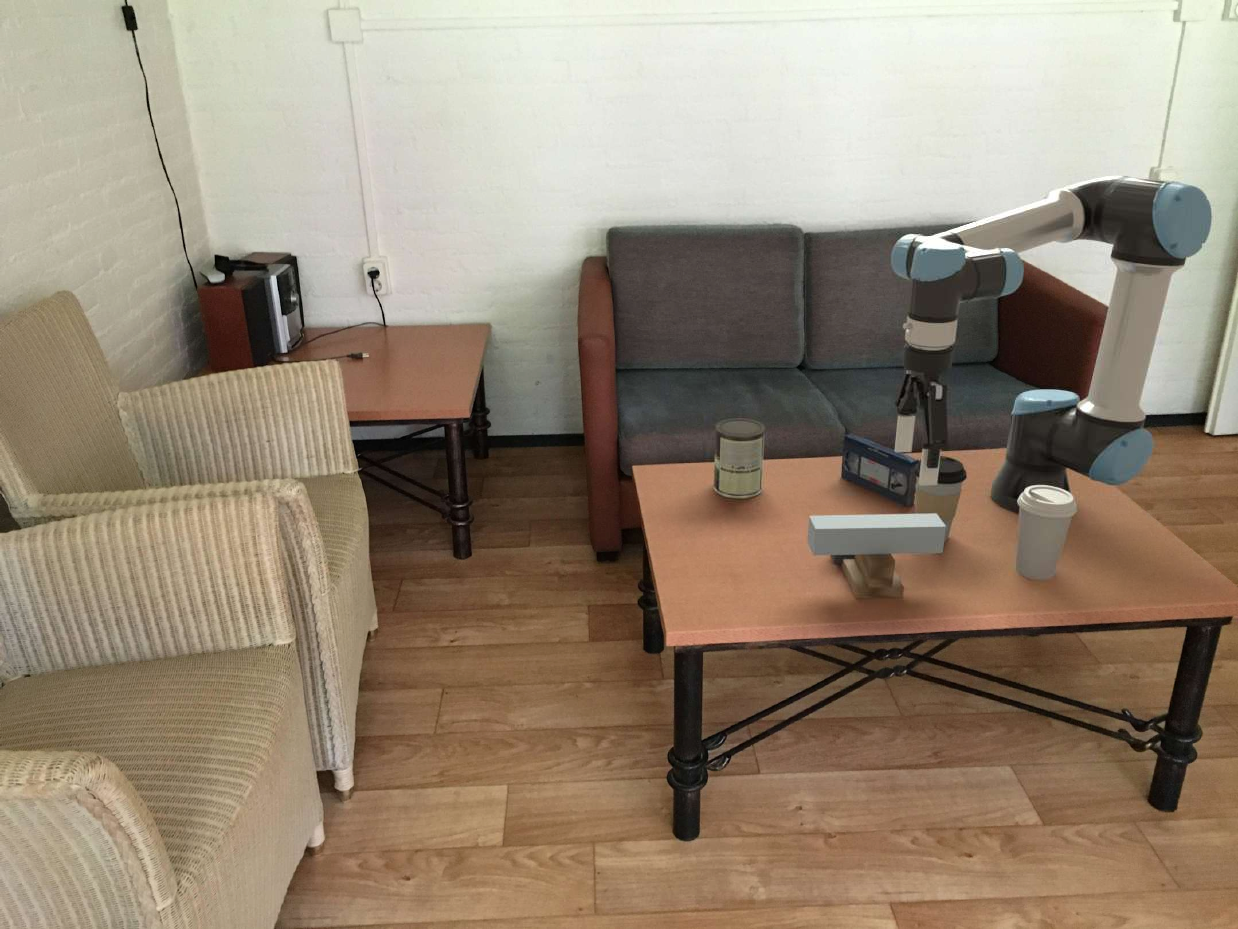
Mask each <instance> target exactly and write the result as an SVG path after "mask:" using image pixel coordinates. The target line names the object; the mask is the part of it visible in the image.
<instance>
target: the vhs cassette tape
mask: <svg viewBox="0 0 1238 929" xmlns="http://www.w3.org/2000/svg"><path fill="white" fill-rule="evenodd" d="M894 450H895V449H892V448H890V447H887V446H884V445H882V444H879V443H877V442H874V441H872V440H870V439H866V438H864V437H861V436H859V435H857V434H854V433H848V434H845V435H844V436H843V447H842V458H841V459H842V461H841V470H840V471H841V474H840V477H841V478H842V479H843V480H846V481H848V482H850V483H852V484H854V485H857V486H858V487H860V488H863V489H866V490H867V491H870V492H872V493H874V494H876V495H878V496H881V497H883V498H885V499H888V500H890V501H893V502H895V503H897V504H899V505H901V506H903V507H906V508H907V507H909V506H911V505H914V504H915V496H916V482H917V476H916V475H915V474H914V469H915V465H916V464H918V463H919V461H920V459H918V458H914V457H912V456H910V455H907V454H905V453H904V452H895V451H894Z"/></svg>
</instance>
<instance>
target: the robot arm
mask: <svg viewBox="0 0 1238 929" xmlns="http://www.w3.org/2000/svg"><path fill="white" fill-rule="evenodd" d="M1211 206H1212V205H1211V203H1210V201H1209V199H1208V197H1207V194H1206V193H1205V192H1204V191H1203V190H1202V189H1200V188H1199V187H1197V186H1194V185H1190V184H1187V183H1182V182H1179V181H1174V180H1172V181H1170V180H1161V179H1150V178H1149V179H1148V178H1141V177H1140V178H1139V177H1132V176H1128V175H1109V176H1102V177H1097V178H1093V179H1088V180H1084V181H1080V182H1078V183H1074V184H1071V185H1070V184H1069V185H1068V186H1064V187H1061V188H1058V189H1054V190H1052V191H1051V192H1049V193H1048V194H1047V195H1045V197H1043V199H1042V200H1038V201H1036V202H1034V203H1029V204H1027V205H1023V206H1021V207H1020V206H1019V207H1018V208H1014V209H1011V210H1009V211H1004V212H1001V213H999V214H996V215H992V216H990V217H986V218H983V219H980V220H977V221H973V222H972V223H968V224H964V225H961V226H959V227H956V228H953V229H949V230H947V231H943V232H939V233H935V234H933V235H928V236H925V235H924V234H919V233H918V234H914V233H913V234H912V233H909V234H906V235H904V236H902V237H900V239H898V240H897V242H896V243H895V244H894V246H893V248H892V251H891V255H890V266H891V268H892V270H893V272H894V273H895V274H896V275H897V276H898V277H901V278H903V279H906V280H908V281H910V282H909V292H908V293H909V294H908V306H907V314H906V323H903V325H902V329H904V330H905V335H904V339H905V340H904V341H906V343H904V345H903V350H902V351H903V352H902V361H901V363H902V366H903V367H904V368H903V374H902V378H901V380H900V382H899V387H898V391H897V394H896V397H895V398H894V399H895V400H894V404H893V405H894V406H895V407H896V408H897V410H896V412H897V414H898V416H897V422H896V430H895V431H896V434H895V442H894V449H893V450H894V451H895V452H900V453H912V451H913V441H914V440H913V439H914V432H915V431H914V430H915V422H916V416H915V415H916V414H918V409H917V408H919V409H920V410H921V418H922V424H923V425H922V426H923V427H922V428H923V434H924V441H925V442H924V443H923V444H922V445H921V446H920V448H921V450H922V452H921V458H920V459H921V467H920V476H919V485H937V480H938V472H939V464H940V456H942V455H941V454H942V450H948V449H949V436H948V435H949V433H948V432H949V430H948V414H947V412H948V410H947V396H948V395H947V394H948V386H947V385H946V384H941V381H940V375H941V374H943V373H945V372H948V371H949V370H950V369H951V368H952V366H953V365H952V364H953V356H954V346H953V345H954V344H955V342H956V337H957V336H956V334H957V328H958V319H959V318H958V317H959V310H960V309H959V308H960V304H962V303H969V302H975V301H982V300H988V299H989V300H990V299H994V300H995V299H998V298H1000V297H1005V296H1007V295H1011V294H1013V293H1014V292H1016V290H1018V289H1019V287H1020V286H1021V284H1022V282H1023V279H1024V272H1025V268H1024V262H1023V260H1022V258H1021V256H1020V253H1022V252H1025V251H1028V250H1032V249H1034V248H1037V247H1038V248H1039V247H1040V246H1043V245H1047V244H1049V243H1052V242H1055V243H1060V244H1066V243H1071V242H1073V241H1079V240H1080V241H1081V240H1083V241H1094V242H1095V241H1096V242H1101V243H1106V244H1109V245H1112V250H1111V253H1110V259H1111V261H1112V262H1113V263H1114V265H1115V267H1116V275H1115V278H1114V283H1113V287H1112V292H1111V296H1110V300H1109V304H1108V309H1107V313H1106V316H1105V322H1104V326H1103V330H1102V331H1103V332H1102V334H1101V339H1100V343H1099V348H1098V353H1097V356H1096V361H1095V365H1094V370H1093V374H1092V379H1091V381H1090V382H1091V383H1090V387H1089V391H1088V395H1087V397H1086V398H1083V399H1082V400H1081V399H1080V396H1079V395H1078V393H1075V392H1073V391H1068V390H1061V389H1051V388H1050V389H1033V390H1027V391H1024V392H1022V393H1020V394H1019V395H1017V396H1016V398H1015V400H1014V405H1013V409H1012V411H1011V418H1010V423H1009V424H1010V425H1009V431H1008V439H1007V445H1006V450H1005V451H1006V453H1005V458H1004V461H1003V463H1002V465H1001V467H1000V469H999V470H998V472H997V474H996V476H995V477H994V480H992V484H991V488H990V497H991V499H992V500H993V502H994V503H996V504H997V505H998V506H1001V507H1003V508H1004V509H1008V510H1010V511H1013V512H1016V513H1019V509H1020V506H1019V505H1018V503H1017V500H1018V498H1019V496H1020V495H1021V494H1022V493H1023V492H1024V490H1025V489H1026V488H1027V487H1030V486H1034V485H1047V486H1053V487H1058V488H1061V489H1063V490H1066V491H1068V492H1069V493H1071V488H1070V483H1069V482H1070V481H1069V476H1068V471H1067V470H1068V469H1069V470H1071V471H1073V472H1075V473H1078V474H1080V475H1082V476H1084V477H1087V478H1089V479H1090V480H1091V481H1094V482H1100V483H1101V484H1102V483H1103V484H1105V485H1108V486H1120V485H1123V484H1125V483H1128V482H1129V481H1131V480H1133V478H1135V477H1136V476H1137V475H1138V474H1139V473H1140V472H1141V471H1142V470H1143V468H1144V467H1145V466H1146V464H1147V463H1148V461H1149V460H1150V457H1151V455H1152V453H1153V450H1154V445H1155V444H1154V443H1155V442H1154V439H1153V435H1152V434H1151V433H1150V432H1149V430H1148V429H1145V428H1144V425H1145V421H1146V418H1147V417H1146V413H1145V411H1144V410H1143V408H1142V407H1141V406H1140V402H1141V399H1142V395H1143V390H1144V387H1145V382H1146V378H1147V374H1148V372H1149V367H1150V363H1151V359H1152V355H1153V351H1154V347H1155V343H1156V340H1157V335H1158V332H1159V327H1160V323H1161V320H1162V316H1163V312H1164V309H1165V304H1166V299H1167V295H1168V291H1169V287H1170V283H1171V280H1172V276H1173V274H1174V273H1175V272H1177V271H1179V270H1180V269H1182V268H1184V267H1185V264H1186V261H1187V258H1191V257H1193V256H1195V255H1197V253H1199V252H1200V251H1201V249H1202V248H1203V244H1205V243H1206V242H1207V240H1208V238H1209V235H1210V232H1211V227H1212V218H1213V216H1212V214H1213V213H1212V207H1211ZM1071 494H1072V493H1071Z"/></svg>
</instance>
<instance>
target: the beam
mask: <svg viewBox="0 0 1238 929" xmlns="http://www.w3.org/2000/svg"><path fill="white" fill-rule="evenodd" d="M945 531H946V526H945V524H944V523H943V522H942V520H941V519H940V517H939V516H938V515H937V513H932V514H916V513H892V514H890V513H886V514H884V513H883V514H882V513H881V514H832V515H830V514H829V515H809V517H808V528H807V541H806V542H807V544H808V546H809V549H810V551H811V553H812V555H813V556H830V555H859V554H891V555H898V554H900V555H905V554H906V555H907V554H908V555H909V554H910V555H911V554H943V552H944V551H943V550H944V545H945V541H944V539H945Z"/></svg>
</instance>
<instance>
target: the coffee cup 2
mask: <svg viewBox="0 0 1238 929" xmlns="http://www.w3.org/2000/svg"><path fill="white" fill-rule="evenodd" d="M1017 503H1018V505H1019V506H1020V509H1019V512H1018V526H1017V527H1018V528H1017V541H1016V555H1015V556H1016V557H1015V571H1016V572H1017V573H1018V574H1019V575H1021V576H1023V577H1026V578H1028V579H1031V580H1035V581H1037V580H1039V581H1046V580H1050V579H1053V578H1054V577H1055V574H1056V570H1057V567H1058V564H1059V561H1060V558H1061V554H1062V551H1063V548H1064V544H1065V542H1066V541H1065V540H1066V538H1067V535H1068V531H1069V528H1070V524H1071V521H1072V518H1073V516H1074V515H1075V514H1077V512H1078V508H1077V503H1076V502H1075V497H1074V495H1073V494H1072V493H1069V492H1068V491H1066V490H1063V489H1061V488H1058V487H1053V486H1047V485H1034V486H1030V487H1027V488H1026V489H1025V490H1024V492H1023V493H1022V494H1021V495H1020V496H1019V498H1018V500H1017Z"/></svg>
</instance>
